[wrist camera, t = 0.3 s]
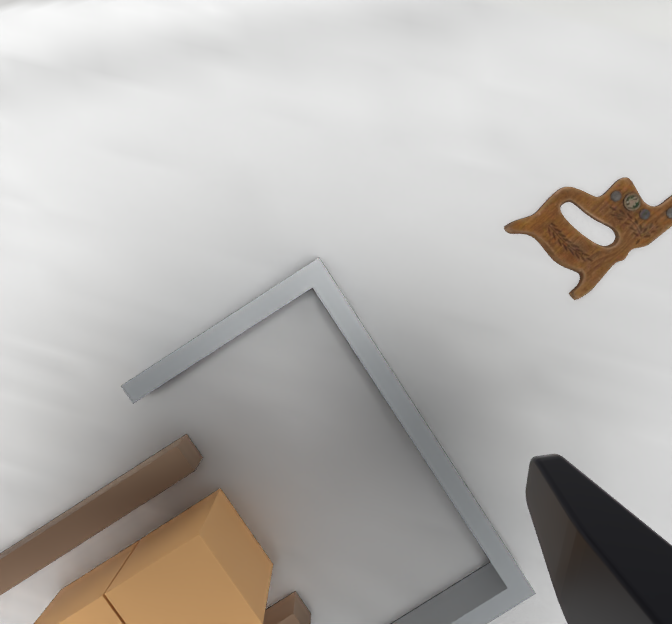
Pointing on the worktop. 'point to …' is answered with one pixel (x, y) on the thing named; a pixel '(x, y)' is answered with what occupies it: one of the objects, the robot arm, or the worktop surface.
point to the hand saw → (609, 209)
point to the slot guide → (109, 506)
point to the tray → (502, 572)
